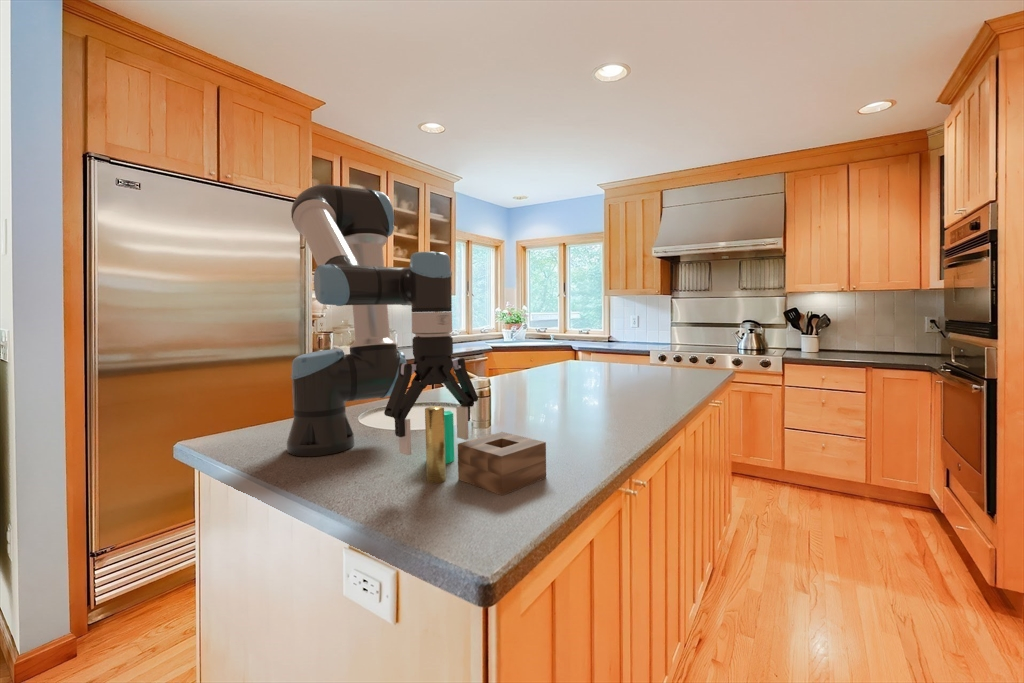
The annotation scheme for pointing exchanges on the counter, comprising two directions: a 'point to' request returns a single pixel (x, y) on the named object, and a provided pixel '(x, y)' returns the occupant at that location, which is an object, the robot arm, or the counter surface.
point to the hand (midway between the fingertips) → (435, 445)
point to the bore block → (502, 462)
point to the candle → (449, 436)
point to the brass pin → (435, 444)
